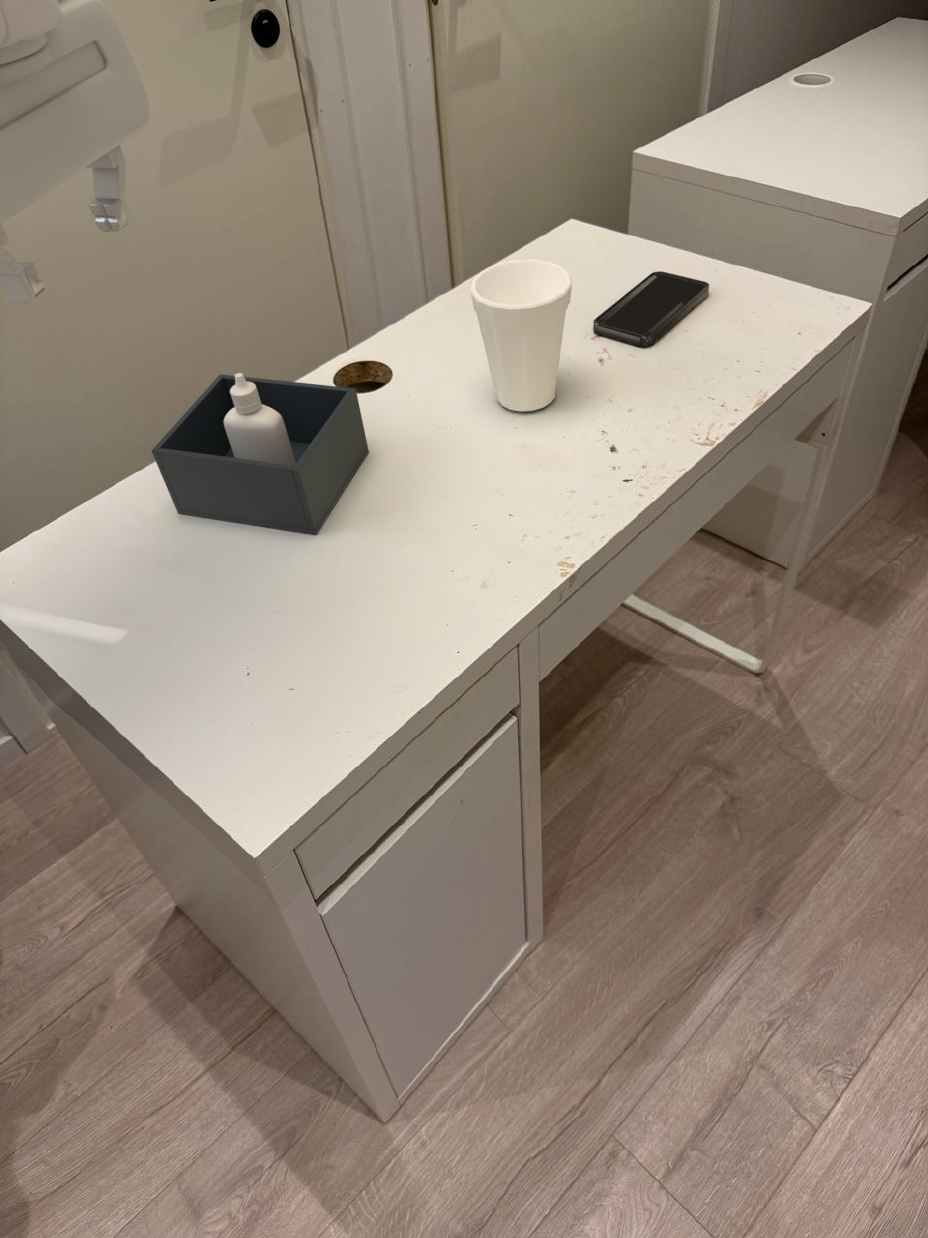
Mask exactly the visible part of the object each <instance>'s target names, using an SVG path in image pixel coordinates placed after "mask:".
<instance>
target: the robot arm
mask: <svg viewBox="0 0 928 1238" xmlns="http://www.w3.org/2000/svg"><path fill="white" fill-rule="evenodd" d="M124 37H125V36H124V35H123V33H122V30H121V28H120V26H119V25H118V22H117V20H116V19H115V16H114V15H113V13H112V11H111V9H109V7H108V6H107V4H105V2H103V0H0V289H1V290H2V292H3V294H4V296H5V297H6V299H7V300H8V301H10V302H12V303H21V304H28V303H31V302H32V300H34V299H35V298H36V297H38V295H40V294H41V293H43V291H45V284H44V282H43V280H42V279H40V273H39V271H38V269H37V266H36V264H35V263H34V262H27V261H25V262H20V261H18V260H17V259H16V258H15V257H14V256H12V255H11V253H9V252H8V251H7V250H6V248H4V247H5V246H6V245H8V244H9V238H8V236H7V234H6V232H5V230H4V226H3V224H5V223H6V222H7V221H9V220H10V219H12V218H13V217H15V216H16V215H17V214H19V213H21V212H22V211H24V210H26V208H28V207H30V206H31V205H32V204H33V205H34V204H35V202H37V201H39V200H40V199H41V198H43V197H45V196H46V195H48V194H49V193H50V192H52V191H53V190H55V189H57V188H58V187H59V186H61V185H62V184H64V183H66V182H67V181H68V180H70V179H71V178H72V177H74V176H75V175H77V174H79V173H81V171H83V170H85V169H91V171H92V181H93V190H94V191H93V192H94V199H93V200H92V201H91V202H90V203H89V204H88V206H89V209H90V211H91V214H92V216H93V217H94V218H95V224H96V227H97V228H98V229H99V230H100V231H102V232H104V233H109V232H110V233H111V232H112V233H119V232H121V231H122V230H123V229H124V228H125V227H127V226H128V225H129V224H131V222H132V220H133V218H132V215H131V211H130V209H129V206H128V204H127V201H126V198H125V195H126V159H125V156H124V153H123V151H122V148H121V145H122V144H123V143H124V142H126V141H128V140H129V139H130V138H132V137H134V136H135V135H136V134H138V133H140V131H143V130H144V129H145V128H146V127H147V126H148V125H149V116H150V114H149V113H150V104H149V98H148V96H147V93H146V90H145V87H144V83H143V81H142V79H141V76H140V73H139V71H138V68H137V66H136V63H135V61H134V58H133V56H132V54H131V51H130V49H129V46H128V44H127V42H126V39H125V38H124Z"/></svg>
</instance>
